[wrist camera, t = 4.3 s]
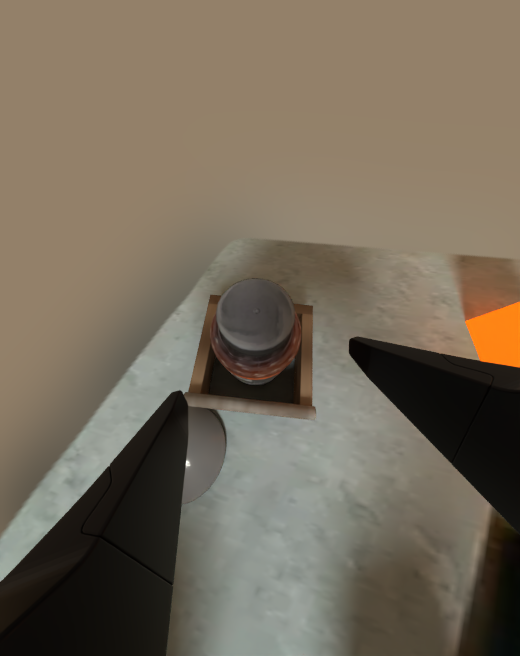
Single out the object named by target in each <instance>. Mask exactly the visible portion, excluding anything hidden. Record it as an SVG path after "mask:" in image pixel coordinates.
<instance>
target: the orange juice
mask: <svg viewBox="0 0 520 656" xmlns="http://www.w3.org/2000/svg"><path fill="white" fill-rule="evenodd" d="M465 322H466V325H467V327H468V330H469V332H470V335H471V337H472V340H473V343H474V345H475V348H476V350H477V353H478V355H479V358H480V361H484V362H490V363H496V364H502V365H508V366H514V367H520V302H518V303H515V304H512V305H509V306H507V307H504V308H501V309H498V310H495V311H493V312H490V313H487V314H484V315H481V316H479V317H476V318H473V319H470V320H467V321H465Z"/></svg>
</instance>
